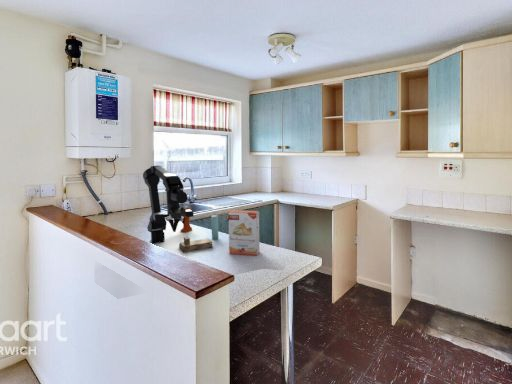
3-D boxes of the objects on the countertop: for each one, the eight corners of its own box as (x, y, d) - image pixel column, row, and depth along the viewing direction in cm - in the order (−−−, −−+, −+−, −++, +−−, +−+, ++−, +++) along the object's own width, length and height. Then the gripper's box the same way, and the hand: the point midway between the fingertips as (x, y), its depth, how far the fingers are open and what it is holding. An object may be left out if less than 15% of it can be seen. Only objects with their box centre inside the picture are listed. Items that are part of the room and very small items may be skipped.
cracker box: (228, 254, 156) (227, 211, 153) (232, 250, 162) (231, 209, 159) (257, 256, 153) (256, 212, 150) (259, 252, 159) (259, 210, 156)
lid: (183, 247, 160) (183, 240, 160) (180, 243, 167) (179, 236, 166) (212, 242, 167) (212, 236, 167) (208, 239, 174) (208, 232, 173)
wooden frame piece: (183, 252, 160) (183, 247, 160) (179, 247, 168) (179, 243, 168) (212, 247, 167) (212, 243, 166) (207, 243, 174) (206, 239, 174)
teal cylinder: (214, 239, 181) (213, 217, 179) (210, 238, 183) (210, 216, 182) (219, 238, 183) (219, 216, 181) (216, 237, 186) (215, 215, 184)
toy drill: (164, 233, 190) (165, 208, 190) (188, 230, 206) (189, 207, 205) (169, 234, 187) (170, 209, 187) (193, 231, 203) (194, 207, 202)
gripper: (156, 205, 148) (158, 238, 150) (196, 201, 156) (197, 233, 158) (152, 201, 158) (154, 232, 160) (189, 198, 166) (191, 228, 168)
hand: (174, 231), depth 161 cm, fingers closed
